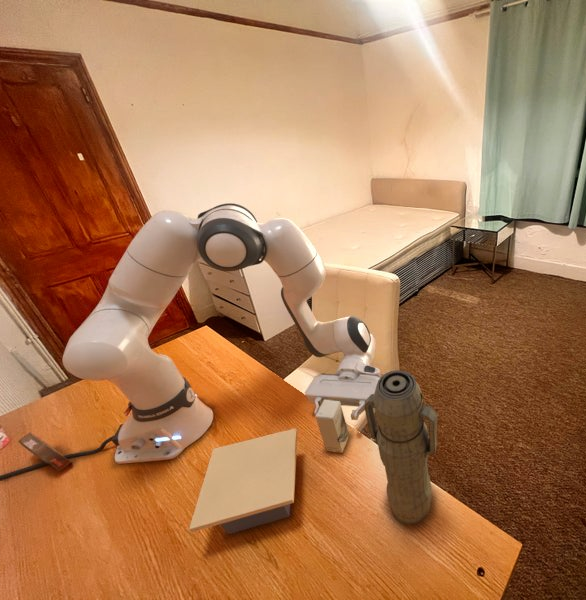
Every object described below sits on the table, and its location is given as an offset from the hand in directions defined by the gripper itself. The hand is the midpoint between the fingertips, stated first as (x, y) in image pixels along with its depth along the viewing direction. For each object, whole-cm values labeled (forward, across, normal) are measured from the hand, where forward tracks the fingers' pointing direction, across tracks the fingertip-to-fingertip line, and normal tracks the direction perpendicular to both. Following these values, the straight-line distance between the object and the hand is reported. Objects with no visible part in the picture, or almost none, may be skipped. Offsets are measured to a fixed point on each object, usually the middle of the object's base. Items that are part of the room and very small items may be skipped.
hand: (335, 416), depth 75 cm
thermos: (+14, +20, +7) cm, 25 cm away
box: (+2, 0, +7) cm, 8 cm away
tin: (+15, -72, +8) cm, 74 cm away
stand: (+16, -13, +7) cm, 22 cm away
